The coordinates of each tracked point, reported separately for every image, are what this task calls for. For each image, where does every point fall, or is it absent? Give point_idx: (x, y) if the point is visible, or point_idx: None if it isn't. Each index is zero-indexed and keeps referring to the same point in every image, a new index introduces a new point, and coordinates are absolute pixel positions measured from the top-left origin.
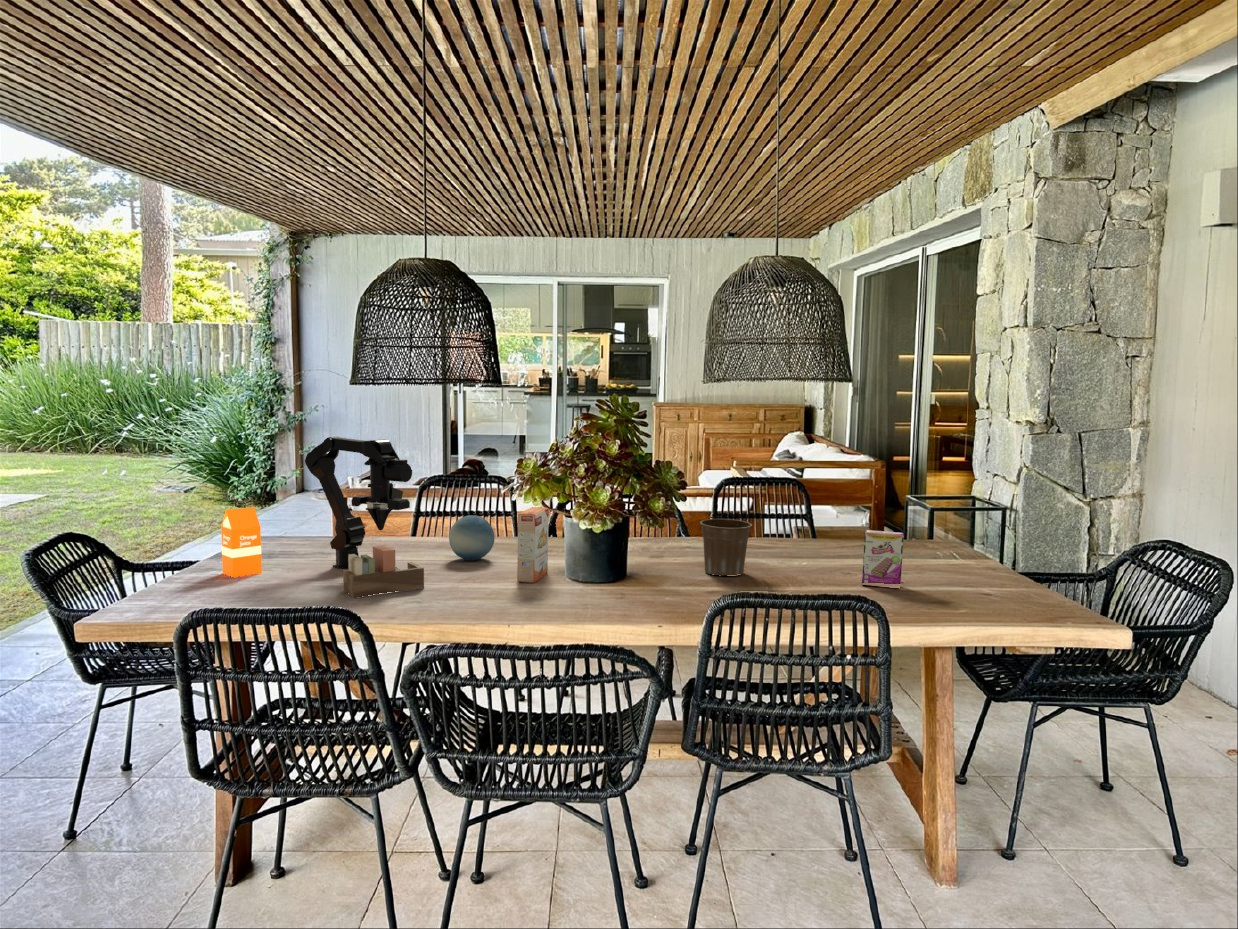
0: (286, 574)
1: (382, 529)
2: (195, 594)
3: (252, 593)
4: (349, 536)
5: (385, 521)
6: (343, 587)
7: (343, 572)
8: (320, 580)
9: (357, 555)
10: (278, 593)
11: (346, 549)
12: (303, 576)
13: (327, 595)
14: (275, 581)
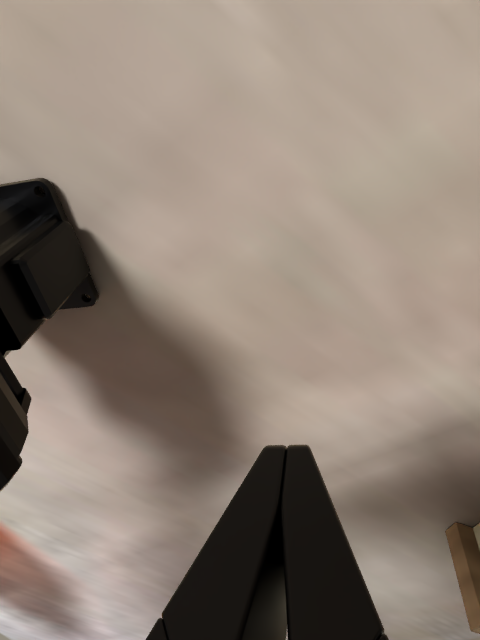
0: (26, 468)
1: (313, 459)
2: (116, 636)
3: None
4: (12, 475)
5: (365, 589)
6: (450, 545)
7: (473, 619)
8: (218, 474)
9: (42, 263)
10: None
11: (3, 356)
12: (102, 462)
13: (436, 574)
14: (112, 530)
